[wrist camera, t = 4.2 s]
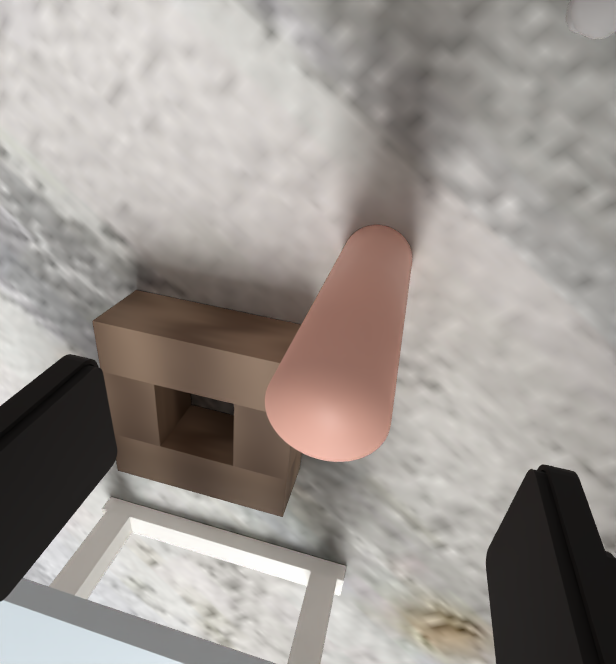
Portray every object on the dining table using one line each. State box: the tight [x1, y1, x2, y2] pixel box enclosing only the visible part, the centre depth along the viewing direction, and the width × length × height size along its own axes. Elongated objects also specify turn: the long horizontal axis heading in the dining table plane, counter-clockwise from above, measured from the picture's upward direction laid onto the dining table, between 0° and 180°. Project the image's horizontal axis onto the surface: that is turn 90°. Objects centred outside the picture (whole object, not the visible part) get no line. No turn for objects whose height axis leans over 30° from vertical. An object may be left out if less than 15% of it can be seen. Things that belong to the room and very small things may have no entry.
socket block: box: [92, 290, 302, 517], centre depth 27 cm, size 11×11×4 cm
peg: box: [265, 225, 412, 462], centre depth 17 cm, size 3×3×12 cm
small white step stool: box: [0, 497, 346, 664], centre depth 29 cm, size 20×10×12 cm, turn 85°
